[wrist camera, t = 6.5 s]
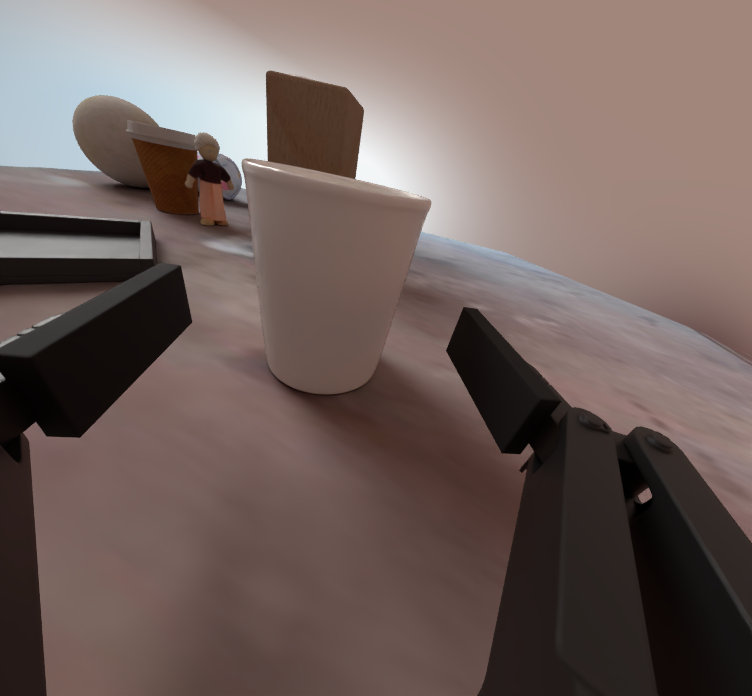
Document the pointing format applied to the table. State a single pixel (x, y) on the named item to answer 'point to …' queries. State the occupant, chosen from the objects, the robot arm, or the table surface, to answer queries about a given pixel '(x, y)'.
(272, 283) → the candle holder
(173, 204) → the disposable coffee cup
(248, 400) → the table surface
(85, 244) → the black tray
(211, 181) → the grandmother figurine
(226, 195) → the pencil case
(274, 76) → the wooden block
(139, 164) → the decorative sphere
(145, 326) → the robot arm
